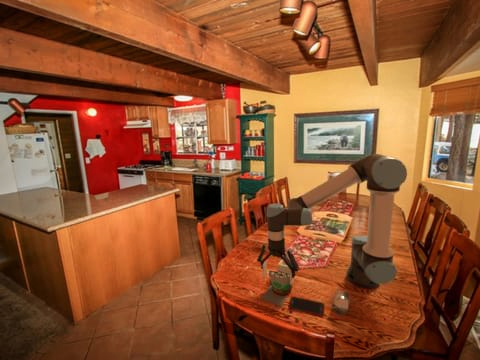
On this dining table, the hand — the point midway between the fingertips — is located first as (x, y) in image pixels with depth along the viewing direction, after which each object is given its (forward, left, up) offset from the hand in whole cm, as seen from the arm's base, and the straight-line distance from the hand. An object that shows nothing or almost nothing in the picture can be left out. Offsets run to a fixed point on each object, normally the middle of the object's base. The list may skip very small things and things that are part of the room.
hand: (278, 279), depth 112 cm
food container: (-1, 0, -7) cm, 7 cm away
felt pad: (0, 0, -8) cm, 8 cm away
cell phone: (-14, +2, -8) cm, 17 cm away
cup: (+1, -15, -8) cm, 17 cm away
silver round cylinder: (-28, -4, -8) cm, 29 cm away
